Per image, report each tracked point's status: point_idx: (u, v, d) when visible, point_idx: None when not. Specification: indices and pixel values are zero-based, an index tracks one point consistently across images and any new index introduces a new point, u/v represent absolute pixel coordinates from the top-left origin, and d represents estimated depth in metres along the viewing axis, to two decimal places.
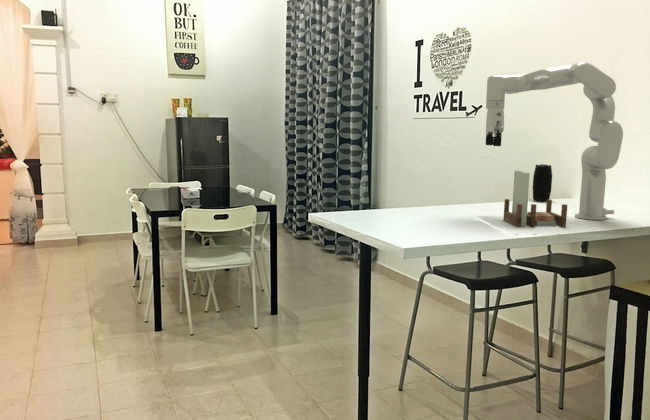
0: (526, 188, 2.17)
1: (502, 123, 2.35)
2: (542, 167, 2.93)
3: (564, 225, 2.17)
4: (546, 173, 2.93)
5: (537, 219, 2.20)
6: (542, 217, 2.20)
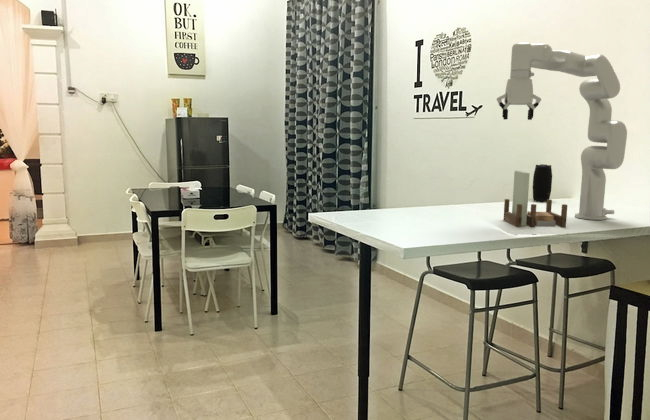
0: (526, 188, 2.17)
1: None
2: (542, 167, 2.93)
3: (564, 225, 2.17)
4: (546, 173, 2.93)
5: (536, 219, 2.20)
6: (541, 217, 2.19)
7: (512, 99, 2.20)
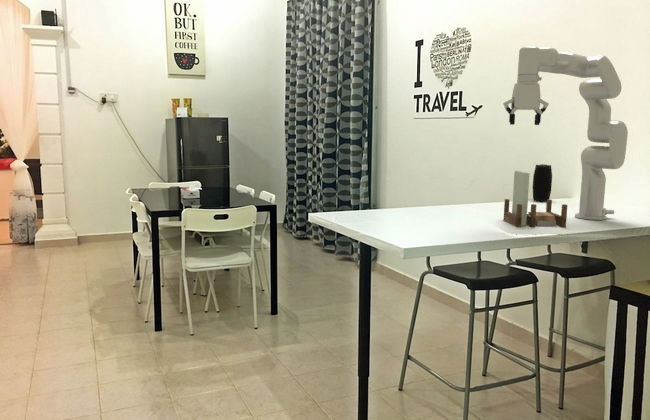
0: (526, 188, 2.17)
1: None
2: (542, 167, 2.93)
3: (564, 225, 2.17)
4: (546, 173, 2.93)
5: (537, 219, 2.19)
6: (542, 217, 2.19)
7: (519, 104, 2.15)
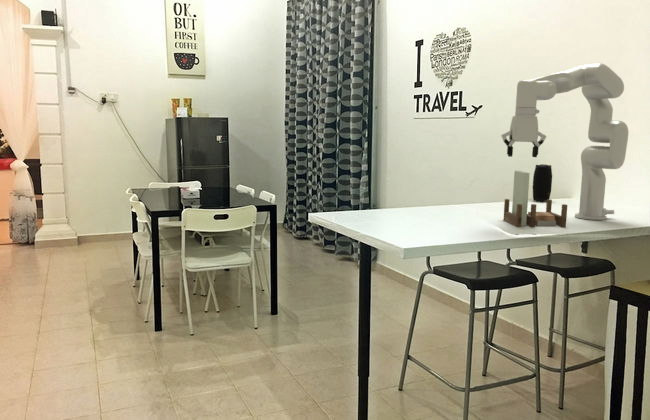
0: (526, 188, 2.17)
1: None
2: (542, 167, 2.93)
3: (564, 225, 2.17)
4: (546, 173, 2.93)
5: (537, 219, 2.20)
6: (542, 217, 2.19)
7: (517, 136, 2.17)
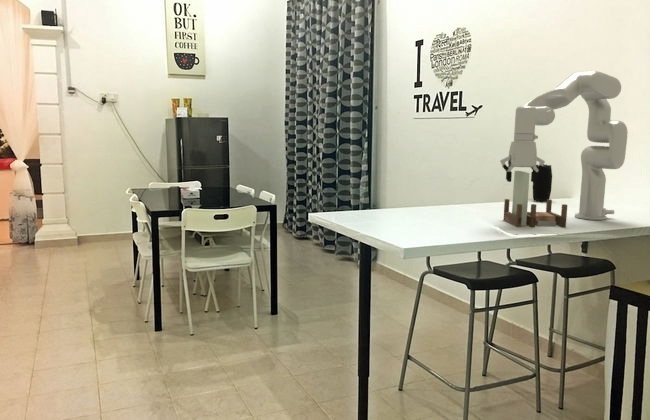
0: (526, 188, 2.17)
1: None
2: (542, 167, 2.93)
3: (564, 225, 2.17)
4: (546, 173, 2.93)
5: (538, 219, 2.20)
6: (543, 217, 2.20)
7: (516, 162, 2.19)
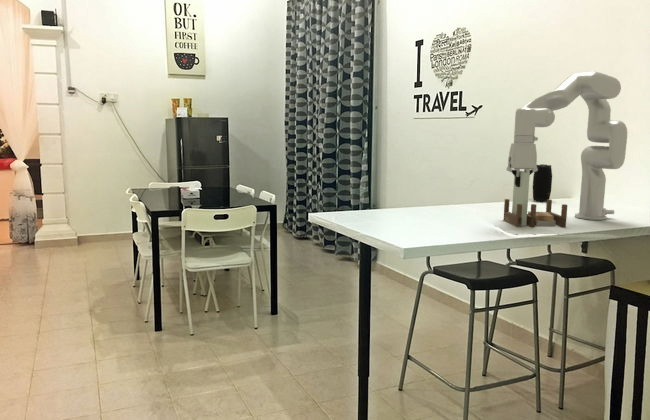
0: (526, 188, 2.17)
1: None
2: (542, 167, 2.93)
3: (564, 225, 2.17)
4: (546, 173, 2.93)
5: (536, 219, 2.20)
6: (541, 217, 2.20)
7: (516, 164, 2.19)
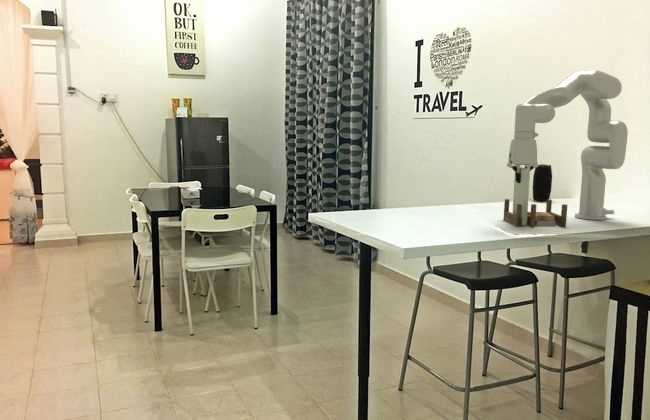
0: (527, 184, 2.17)
1: None
2: (542, 167, 2.93)
3: (564, 225, 2.17)
4: (546, 173, 2.93)
5: (537, 219, 2.20)
6: (542, 217, 2.19)
7: (516, 160, 2.19)
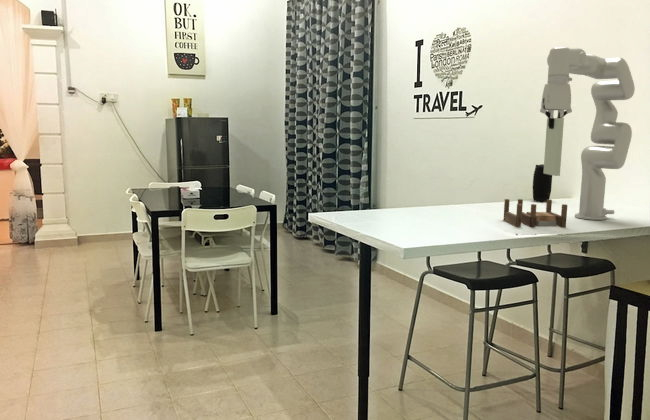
0: (560, 134, 2.14)
1: None
2: (542, 167, 2.93)
3: (564, 225, 2.17)
4: None
5: (539, 219, 2.19)
6: (544, 217, 2.19)
7: (550, 105, 2.15)
